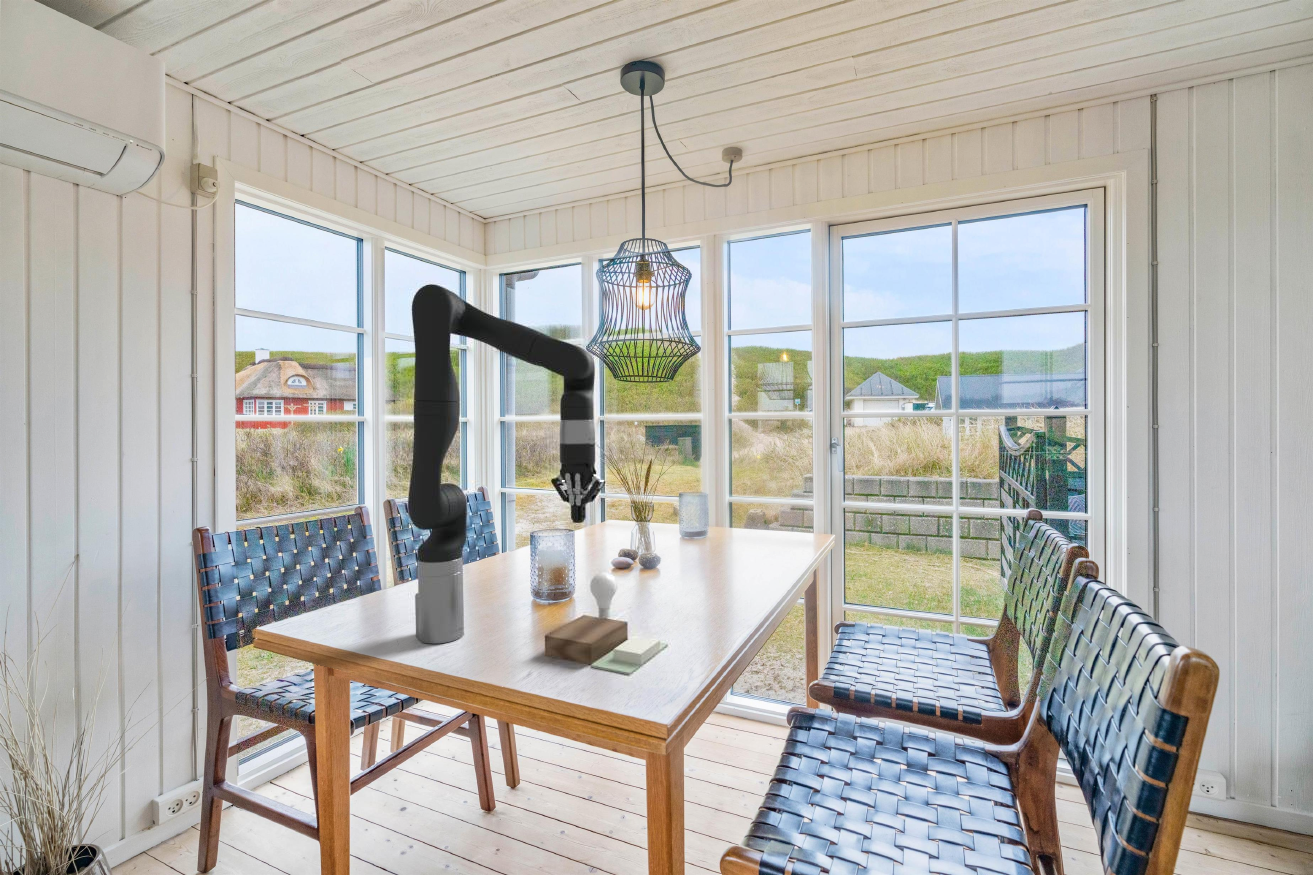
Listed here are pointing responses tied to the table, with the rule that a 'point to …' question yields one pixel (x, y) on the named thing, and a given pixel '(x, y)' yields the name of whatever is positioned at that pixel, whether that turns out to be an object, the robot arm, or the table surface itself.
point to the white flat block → (637, 649)
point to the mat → (621, 663)
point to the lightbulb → (603, 592)
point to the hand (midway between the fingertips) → (578, 522)
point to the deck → (586, 639)
